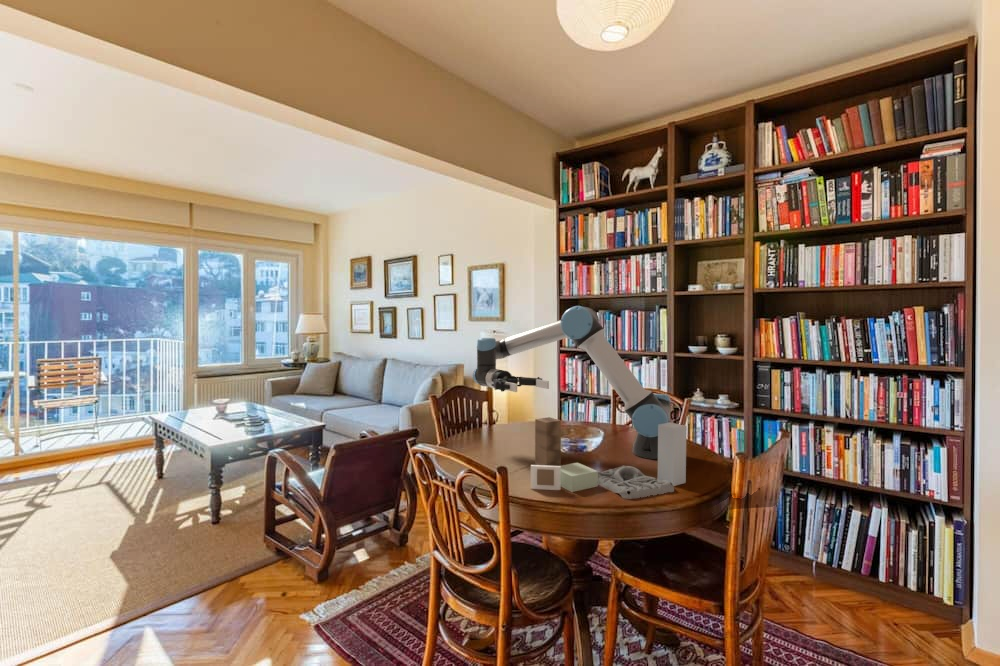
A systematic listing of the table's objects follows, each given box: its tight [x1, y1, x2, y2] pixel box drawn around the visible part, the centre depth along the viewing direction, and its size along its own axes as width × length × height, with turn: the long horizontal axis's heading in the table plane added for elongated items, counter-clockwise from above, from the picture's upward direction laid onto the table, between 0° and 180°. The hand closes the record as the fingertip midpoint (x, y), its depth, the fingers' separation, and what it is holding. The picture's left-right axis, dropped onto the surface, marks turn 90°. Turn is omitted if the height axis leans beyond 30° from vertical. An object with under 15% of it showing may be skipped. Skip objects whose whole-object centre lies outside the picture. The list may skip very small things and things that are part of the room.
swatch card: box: [530, 464, 561, 491], centre depth 147 cm, size 2×9×7 cm, turn 83°
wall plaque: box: [598, 464, 675, 500], centre depth 153 cm, size 24×19×4 cm
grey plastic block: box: [657, 421, 687, 487], centre depth 153 cm, size 6×6×18 cm
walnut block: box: [534, 416, 562, 466], centre depth 161 cm, size 6×6×18 cm
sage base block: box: [560, 462, 599, 493], centre depth 151 cm, size 10×10×5 cm
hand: (532, 386), depth 168 cm, fingers open, 13 cm apart
